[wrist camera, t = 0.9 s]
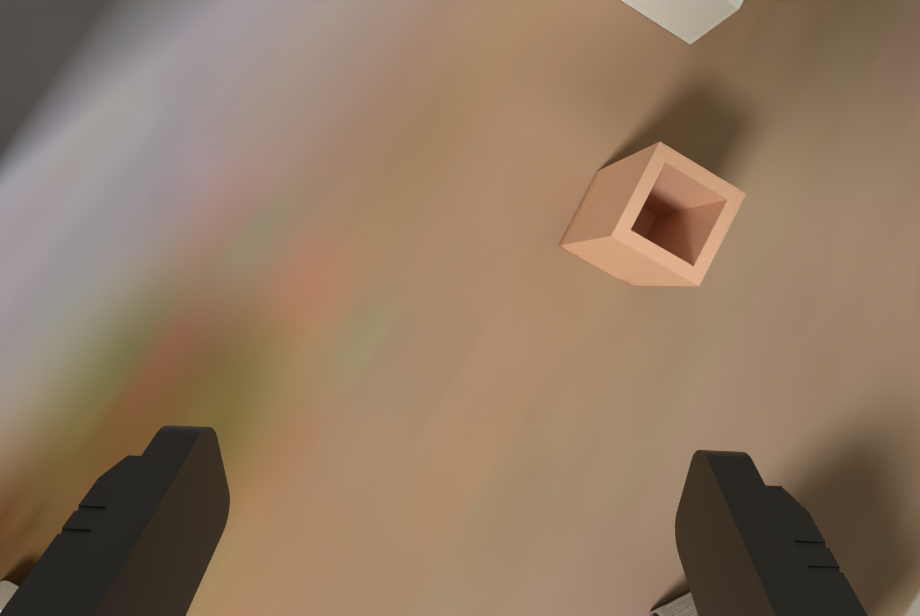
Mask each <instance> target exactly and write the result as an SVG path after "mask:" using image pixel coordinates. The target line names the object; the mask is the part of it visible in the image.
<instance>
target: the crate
mask: <svg viewBox="0 0 920 616" xmlns="http://www.w3.org/2000/svg"><path fill="white" fill-rule="evenodd" d="M621 1H623V2H624V3H626V4H627V5H629V6H631V7H632V8H634V9H635V10H637V11H638V12H640V13H641V14H643V15H645V16H646V17H648V18H649V19H651V20H652V21H654V22H655V23H657V24H659V25H660V26H662V27H663V28H665V29H666V30H668V31H669V32H671V33H673V34H674V35H676V36H677V37H679V38H680V39H682V40H683V41H685V42H687V43H688V44H692V43H693V42H694V41H696V40H697V39H699V38H700V37H701V36H703V35H704V34H705V33H707V32H708V31H710V30H711V29H712V28H714V27H715V26H716V25H718V24H719V23H721V22H722V21H723V20H725V19H726V18H727V17H729V16H730V15H732V14H733V13H734V12H736V11H737V10H738V9H739V8H740V6H741V4H742V2H743V1H744V0H621Z"/></svg>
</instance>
